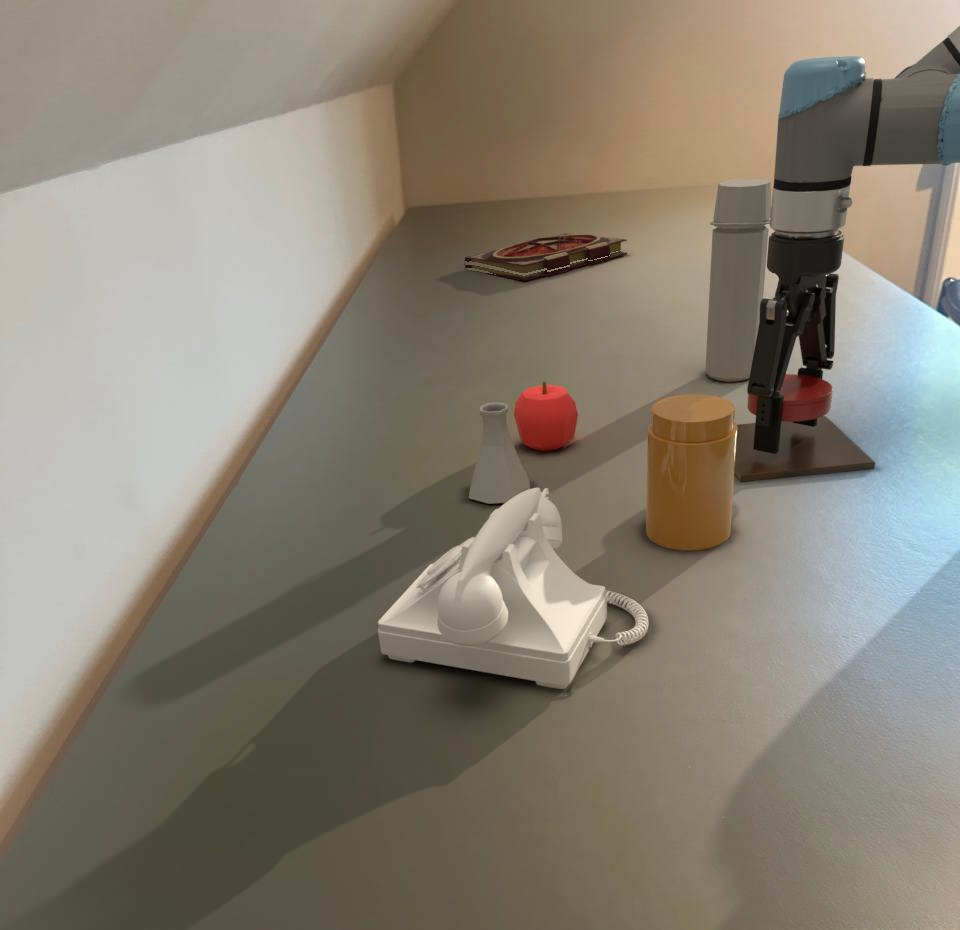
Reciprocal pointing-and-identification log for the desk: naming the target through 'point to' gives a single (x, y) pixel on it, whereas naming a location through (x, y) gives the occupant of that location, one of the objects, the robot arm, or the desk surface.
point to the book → (549, 255)
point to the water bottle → (737, 276)
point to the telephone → (505, 602)
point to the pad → (799, 452)
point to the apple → (545, 417)
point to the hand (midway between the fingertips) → (785, 436)
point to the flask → (497, 460)
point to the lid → (801, 398)
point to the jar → (690, 471)
